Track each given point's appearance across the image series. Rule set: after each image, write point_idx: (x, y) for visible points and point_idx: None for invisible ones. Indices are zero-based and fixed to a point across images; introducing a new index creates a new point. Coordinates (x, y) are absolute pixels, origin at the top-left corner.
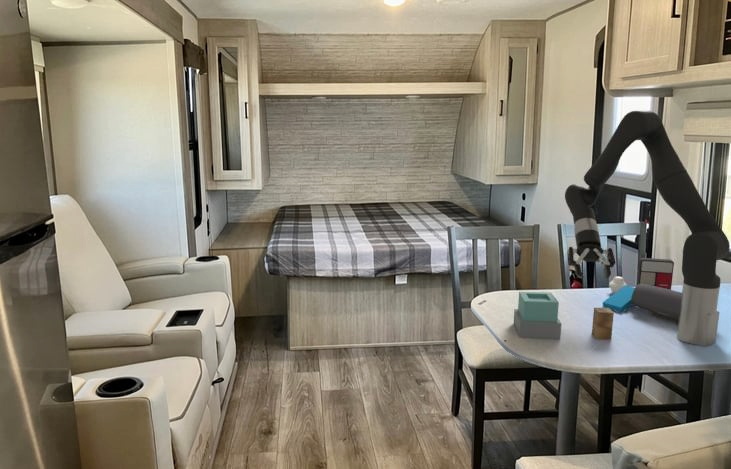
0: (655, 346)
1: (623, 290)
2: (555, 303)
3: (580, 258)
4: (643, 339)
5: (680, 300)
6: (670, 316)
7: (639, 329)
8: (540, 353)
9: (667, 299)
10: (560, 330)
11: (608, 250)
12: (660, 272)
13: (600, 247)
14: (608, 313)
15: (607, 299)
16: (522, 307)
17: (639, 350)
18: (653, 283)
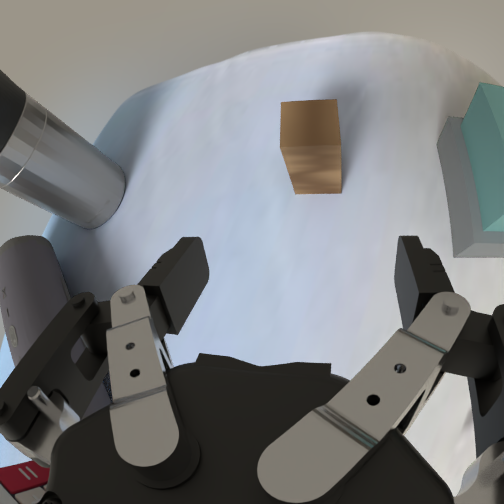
0: (199, 134)
1: None
2: (487, 86)
3: (428, 342)
4: (205, 172)
5: (27, 280)
6: None
7: None
8: (469, 76)
9: (42, 310)
10: (444, 130)
11: (18, 410)
12: (5, 489)
13: (55, 482)
14: (300, 103)
15: None
16: None
17: (249, 104)
18: (37, 489)
